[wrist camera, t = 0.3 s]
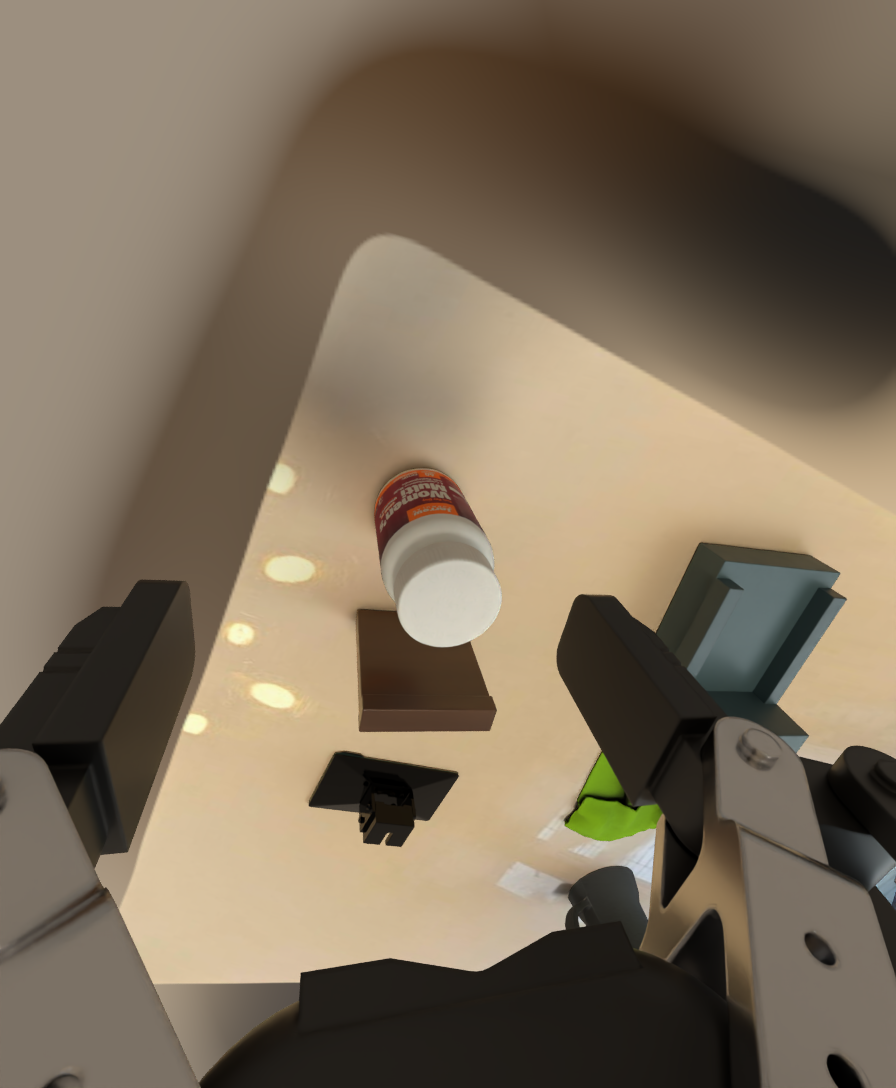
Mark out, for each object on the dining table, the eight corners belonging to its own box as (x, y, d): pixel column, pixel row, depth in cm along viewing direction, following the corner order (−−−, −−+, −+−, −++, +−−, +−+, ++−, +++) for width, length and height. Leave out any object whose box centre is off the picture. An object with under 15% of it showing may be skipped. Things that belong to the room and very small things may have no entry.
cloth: (542, 834, 54) (550, 856, 52) (641, 691, 46) (656, 711, 44) (679, 841, 61) (690, 861, 59) (787, 718, 53) (806, 735, 50)
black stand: (308, 801, 44) (303, 853, 40) (336, 748, 42) (334, 797, 38) (428, 818, 49) (435, 866, 45) (460, 770, 46) (470, 816, 42)
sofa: (699, 542, 39) (777, 598, 32) (810, 555, 42) (903, 609, 35) (630, 686, 45) (682, 758, 38) (730, 688, 48) (795, 755, 41)
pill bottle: (431, 447, 31) (473, 522, 21) (479, 516, 34) (535, 611, 24) (354, 501, 31) (358, 598, 22) (407, 564, 34) (432, 675, 25)
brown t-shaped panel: (358, 605, 35) (362, 709, 27) (462, 611, 37) (497, 710, 29) (355, 625, 36) (358, 732, 27) (457, 630, 38) (490, 731, 29)
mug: (647, 867, 62) (702, 975, 53) (610, 907, 66) (656, 1015, 56) (572, 863, 58) (617, 978, 49) (537, 905, 62) (573, 1021, 52)
